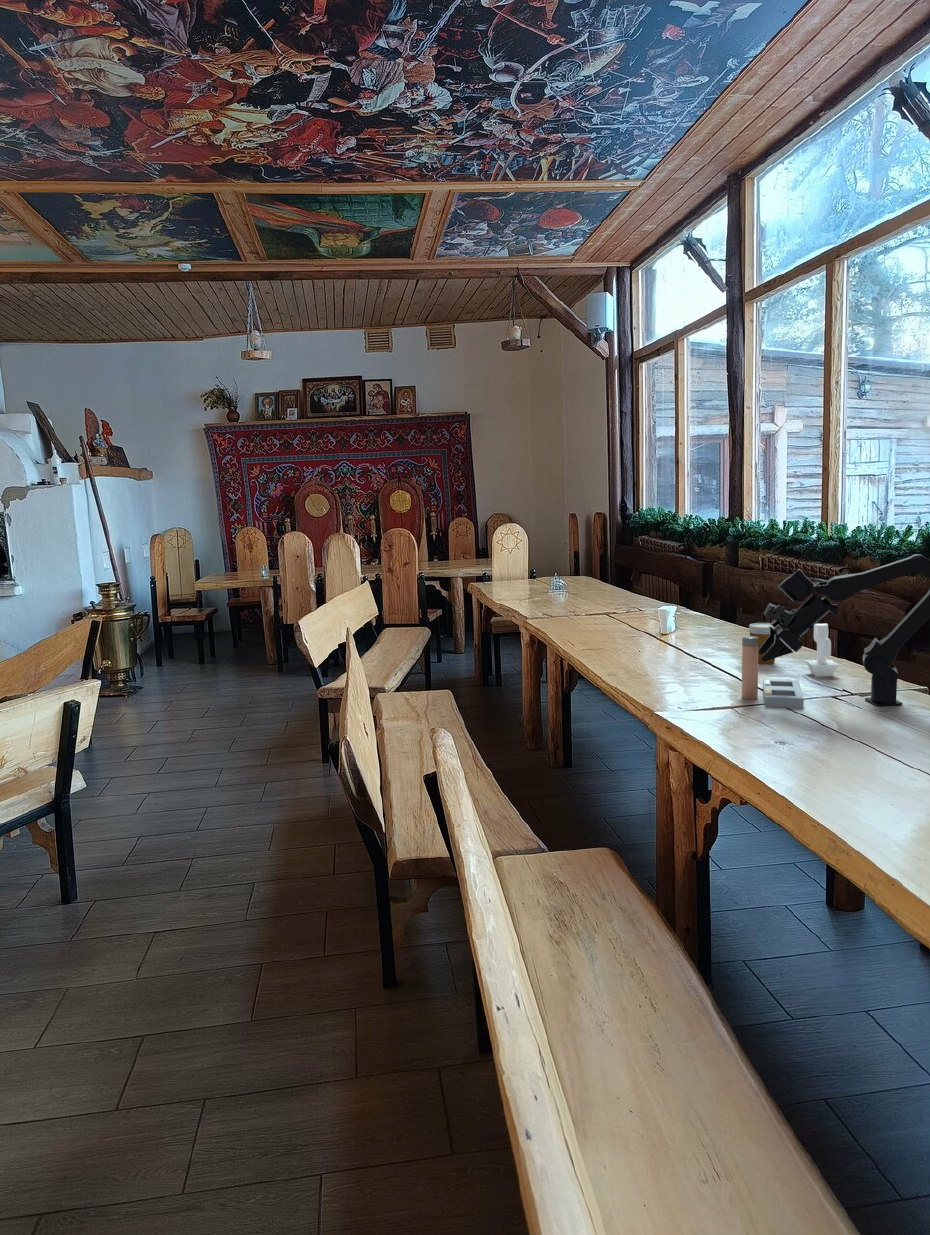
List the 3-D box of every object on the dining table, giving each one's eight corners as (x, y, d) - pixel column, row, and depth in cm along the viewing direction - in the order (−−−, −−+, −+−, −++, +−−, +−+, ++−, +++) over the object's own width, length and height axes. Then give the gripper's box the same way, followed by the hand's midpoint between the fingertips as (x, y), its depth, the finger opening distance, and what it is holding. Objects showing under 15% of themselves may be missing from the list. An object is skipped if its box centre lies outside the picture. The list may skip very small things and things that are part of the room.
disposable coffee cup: (741, 661, 255) (741, 624, 253) (766, 658, 257) (767, 621, 256) (760, 667, 246) (761, 628, 244) (786, 663, 248) (787, 625, 247)
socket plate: (803, 708, 199) (803, 696, 198) (764, 706, 202) (765, 695, 201) (798, 689, 218) (798, 678, 217) (763, 687, 221) (763, 677, 220)
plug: (759, 698, 209) (760, 638, 207) (744, 699, 209) (745, 639, 207) (754, 695, 213) (755, 636, 211) (739, 695, 213) (740, 636, 211)
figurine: (813, 678, 228) (814, 626, 226) (803, 671, 238) (804, 621, 235) (840, 678, 227) (841, 626, 225) (829, 671, 237) (830, 620, 234)
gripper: (780, 588, 214) (735, 628, 219) (788, 597, 196) (740, 641, 201) (810, 617, 213) (765, 657, 218) (822, 629, 195) (773, 672, 200)
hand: (760, 656), depth 209 cm, fingers open, 9 cm apart
